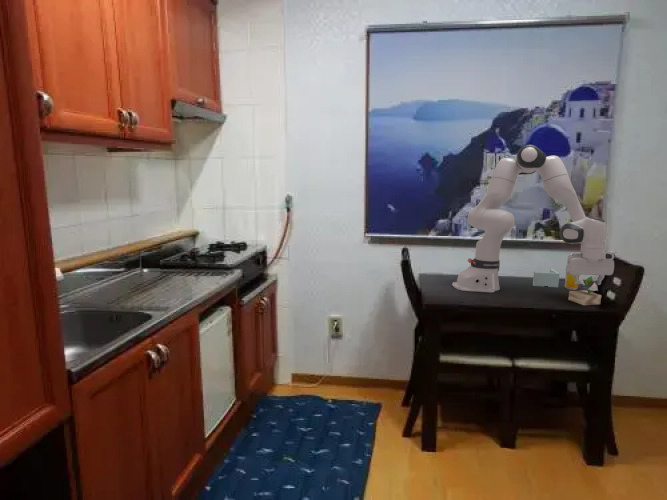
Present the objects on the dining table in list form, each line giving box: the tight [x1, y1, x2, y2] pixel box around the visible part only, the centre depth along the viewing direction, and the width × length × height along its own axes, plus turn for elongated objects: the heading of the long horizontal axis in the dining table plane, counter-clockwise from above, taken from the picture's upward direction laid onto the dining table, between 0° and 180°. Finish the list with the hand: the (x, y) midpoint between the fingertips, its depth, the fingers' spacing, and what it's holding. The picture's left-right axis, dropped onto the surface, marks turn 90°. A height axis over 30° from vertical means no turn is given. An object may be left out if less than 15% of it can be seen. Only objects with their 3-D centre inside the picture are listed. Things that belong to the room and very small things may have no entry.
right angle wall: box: [532, 268, 560, 288], centre depth 246 cm, size 12×12×8 cm
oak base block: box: [567, 289, 602, 306], centre depth 214 cm, size 9×9×4 cm
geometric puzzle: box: [580, 275, 599, 294], centre depth 212 cm, size 7×7×8 cm
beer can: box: [564, 259, 581, 291], centre depth 237 cm, size 6×6×15 cm
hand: (587, 284), depth 212 cm, fingers open, 8 cm apart
